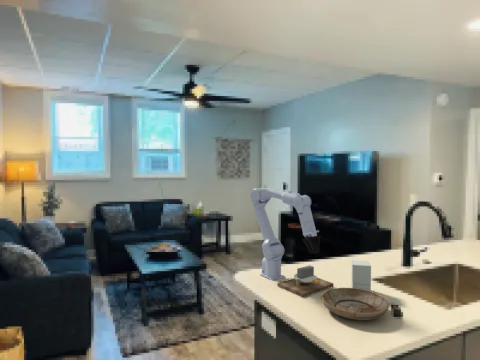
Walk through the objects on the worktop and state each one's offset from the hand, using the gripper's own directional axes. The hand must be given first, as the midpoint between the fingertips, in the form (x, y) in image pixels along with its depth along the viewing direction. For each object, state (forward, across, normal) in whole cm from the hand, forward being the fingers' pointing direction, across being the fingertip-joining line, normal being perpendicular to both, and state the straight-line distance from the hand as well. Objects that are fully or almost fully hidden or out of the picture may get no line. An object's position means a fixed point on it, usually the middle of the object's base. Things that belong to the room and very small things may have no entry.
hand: (314, 253), depth 141 cm
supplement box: (+20, +3, -16) cm, 26 cm away
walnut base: (+14, +9, +6) cm, 17 cm away
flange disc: (+11, +7, +4) cm, 14 cm away
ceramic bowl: (+23, -16, -5) cm, 28 cm away
